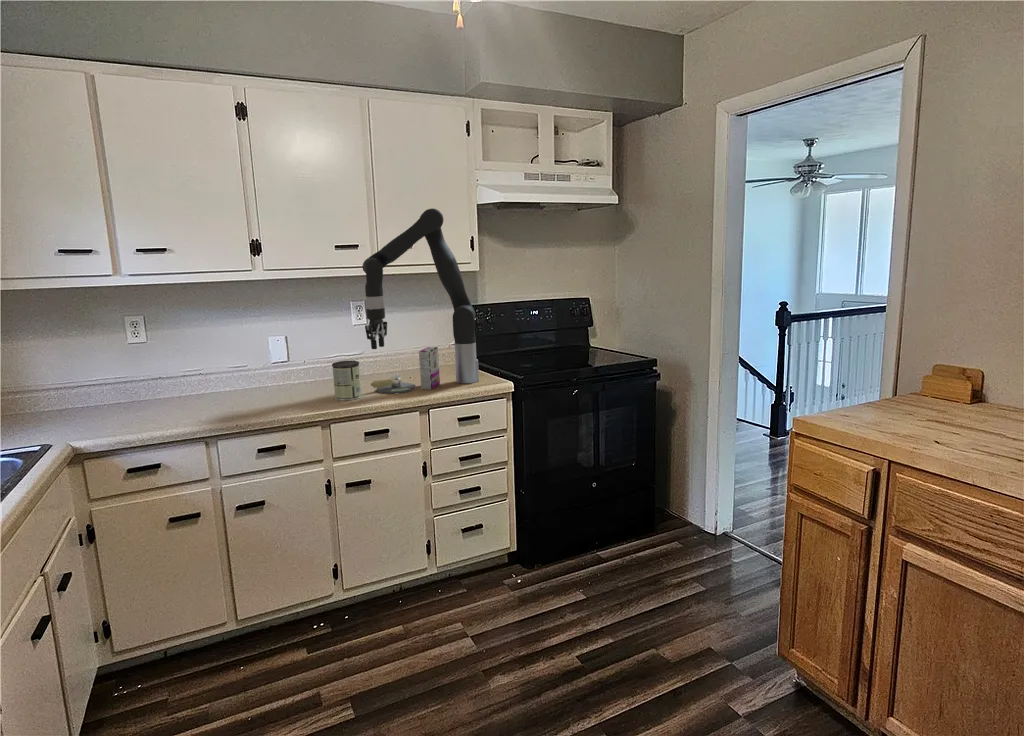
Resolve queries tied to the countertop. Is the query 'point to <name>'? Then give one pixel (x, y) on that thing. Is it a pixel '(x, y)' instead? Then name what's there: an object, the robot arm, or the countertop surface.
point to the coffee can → (346, 380)
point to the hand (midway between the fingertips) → (377, 347)
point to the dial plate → (404, 388)
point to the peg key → (388, 381)
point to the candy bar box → (429, 368)
